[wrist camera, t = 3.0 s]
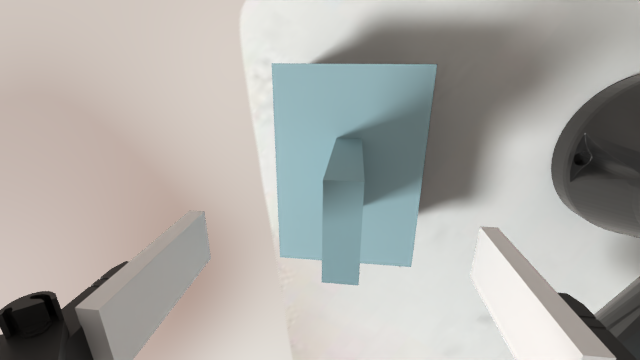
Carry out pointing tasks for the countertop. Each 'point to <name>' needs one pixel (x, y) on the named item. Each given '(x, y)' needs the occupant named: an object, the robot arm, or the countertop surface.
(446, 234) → the countertop surface
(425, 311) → the countertop surface
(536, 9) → the countertop surface
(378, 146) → the lid
